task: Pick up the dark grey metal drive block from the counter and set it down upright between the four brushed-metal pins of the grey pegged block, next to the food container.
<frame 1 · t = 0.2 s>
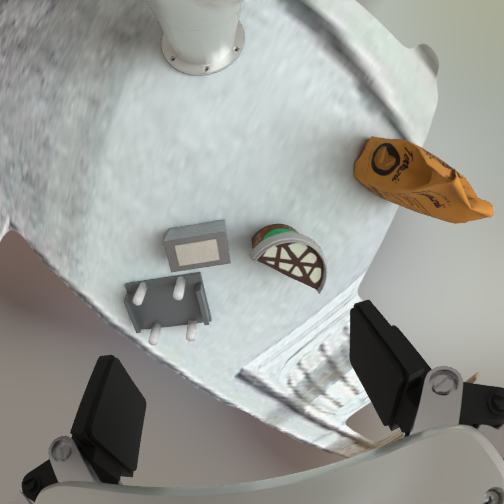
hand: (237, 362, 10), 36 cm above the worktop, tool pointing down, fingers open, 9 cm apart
grey pegged block: (168, 301, 50), on the worktop
food container: (284, 236, 48), on the worktop
coffee package: (382, 168, 45), on the worktop
drive: (199, 238, 46), on the worktop
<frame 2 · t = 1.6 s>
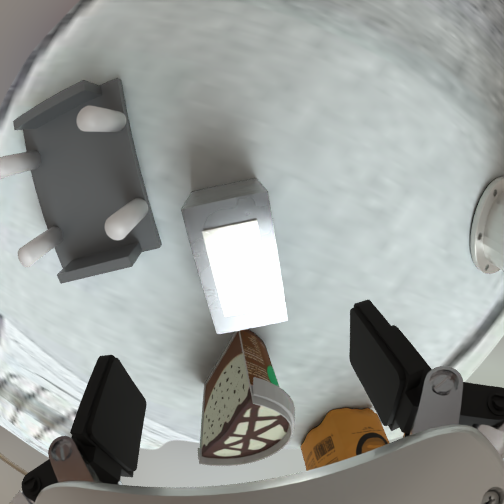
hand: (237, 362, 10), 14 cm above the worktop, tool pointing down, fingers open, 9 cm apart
grey pegged block: (85, 180, 20), on the worktop
food container: (246, 364, 28), on the worktop
coffee package: (336, 427, 36), on the worktop
drive: (235, 238, 23), on the worktop
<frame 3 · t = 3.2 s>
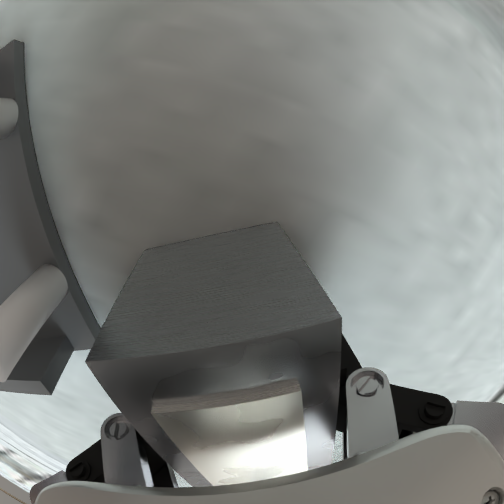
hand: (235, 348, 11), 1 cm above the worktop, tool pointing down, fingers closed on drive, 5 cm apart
drive: (234, 332, 12), on the worktop, touching gripper
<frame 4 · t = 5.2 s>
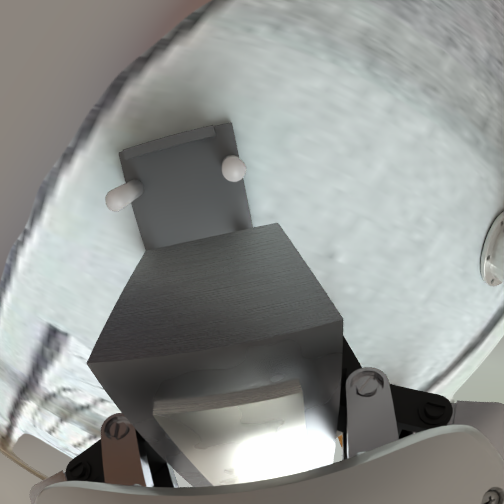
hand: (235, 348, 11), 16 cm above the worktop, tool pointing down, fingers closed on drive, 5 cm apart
grey pegged block: (192, 212, 25), on the worktop
drive: (235, 333, 12), point 15 cm above the worktop, touching gripper
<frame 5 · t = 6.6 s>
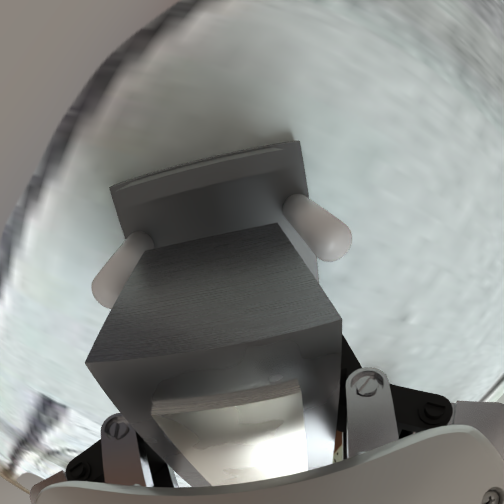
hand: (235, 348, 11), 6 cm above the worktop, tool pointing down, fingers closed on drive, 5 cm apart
grey pegged block: (231, 278, 17), on the worktop
drive: (234, 333, 12), point 5 cm above the worktop, touching gripper
when the fingers open (3 cm above the worktop, at t = 7.4 s): drive drops 1 cm, resting on grey pegged block.
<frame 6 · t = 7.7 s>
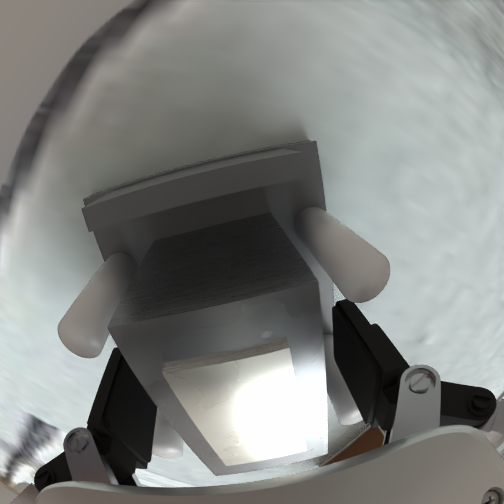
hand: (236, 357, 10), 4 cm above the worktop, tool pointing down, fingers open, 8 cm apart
grey pegged block: (231, 305, 14), on the worktop
food container: (364, 443, 23), on the worktop
drive: (235, 315, 13), point 1 cm above the worktop, touching grey pegged block
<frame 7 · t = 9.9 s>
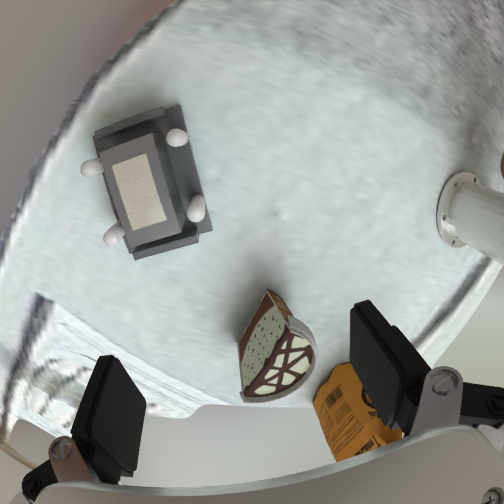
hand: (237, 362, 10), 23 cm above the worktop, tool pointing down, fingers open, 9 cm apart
grey pegged block: (151, 181, 28), on the worktop
food container: (271, 323, 38), on the worktop
coffee package: (341, 383, 46), on the worktop
drive: (152, 182, 28), point 1 cm above the worktop, touching grey pegged block
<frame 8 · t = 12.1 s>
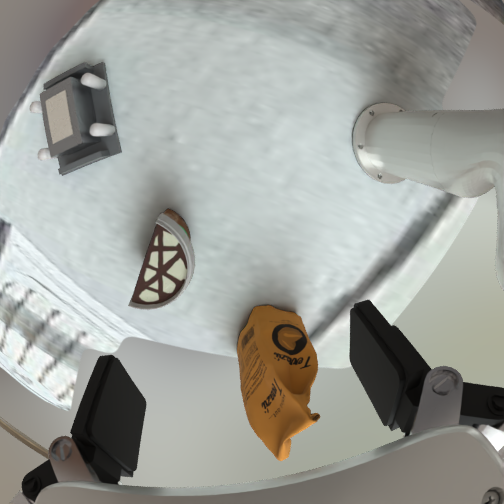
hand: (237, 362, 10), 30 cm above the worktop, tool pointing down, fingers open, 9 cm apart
grey pegged block: (81, 118, 31), on the worktop
food container: (176, 245, 40), on the worktop
coffee package: (267, 332, 48), on the worktop
drive: (80, 118, 30), point 1 cm above the worktop, touching grey pegged block
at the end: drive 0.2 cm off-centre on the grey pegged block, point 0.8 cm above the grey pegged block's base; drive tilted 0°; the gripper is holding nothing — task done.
